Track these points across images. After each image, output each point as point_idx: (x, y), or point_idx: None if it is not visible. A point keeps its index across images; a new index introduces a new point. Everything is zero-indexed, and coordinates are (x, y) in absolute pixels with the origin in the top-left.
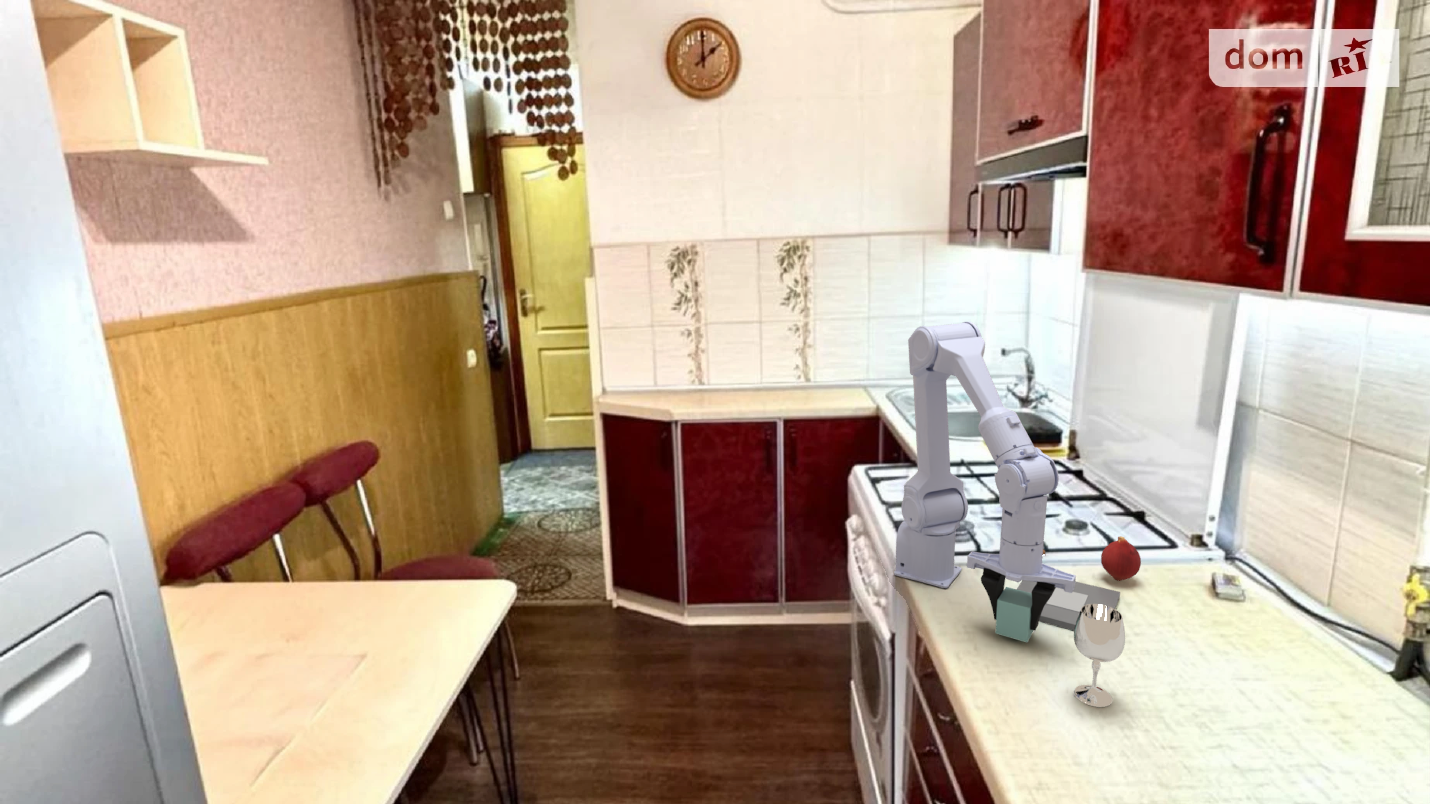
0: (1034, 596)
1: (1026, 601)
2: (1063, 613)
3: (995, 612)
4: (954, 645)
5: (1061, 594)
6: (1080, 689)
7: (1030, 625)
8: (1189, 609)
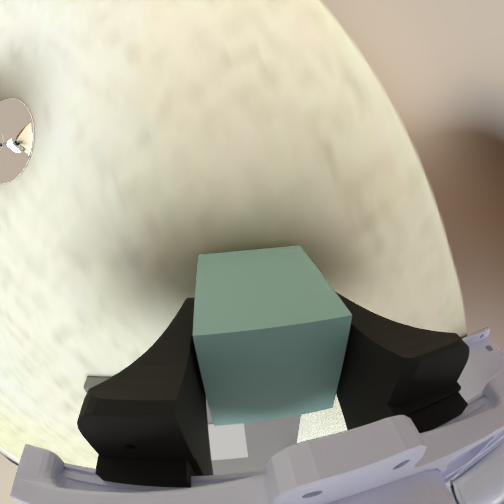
0: (163, 390)
1: (231, 375)
2: None
3: None
4: (379, 137)
5: (215, 450)
6: (21, 136)
7: None
8: (75, 463)
